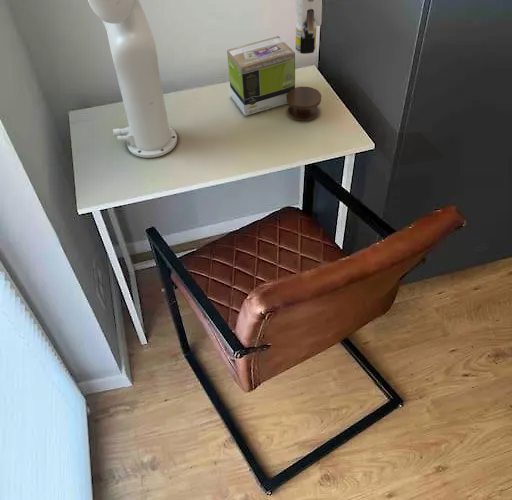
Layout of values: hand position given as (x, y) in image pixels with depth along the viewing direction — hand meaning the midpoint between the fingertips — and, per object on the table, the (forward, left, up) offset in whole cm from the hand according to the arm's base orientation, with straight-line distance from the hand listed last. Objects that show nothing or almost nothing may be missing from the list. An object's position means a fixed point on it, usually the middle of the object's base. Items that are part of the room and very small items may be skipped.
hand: (305, 45), depth 138 cm
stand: (0, 0, -19) cm, 19 cm away
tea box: (-10, +7, -19) cm, 23 cm away
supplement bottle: (0, 0, -1) cm, 1 cm away
